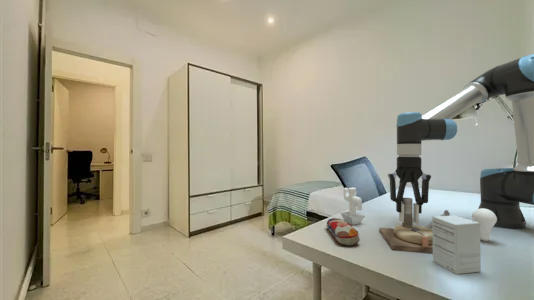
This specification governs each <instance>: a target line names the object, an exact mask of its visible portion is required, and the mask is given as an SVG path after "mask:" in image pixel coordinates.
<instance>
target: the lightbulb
mask: <svg viewBox="0 0 534 300" xmlns="http://www.w3.org/2000/svg"><path fill="white" fill-rule="evenodd" d="M472 221H475V222H478V223H480V240H482V241H483V242H487V241H490V238H491V234H492V230H493V227H495V226H494V225H495V223H496V222H497V217H496V215H495V214H494V213H493V212H492V211H490V210H488V209H484V208H480V209H478V208H477V209H475V210H474V211H473V212H472Z"/></svg>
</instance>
